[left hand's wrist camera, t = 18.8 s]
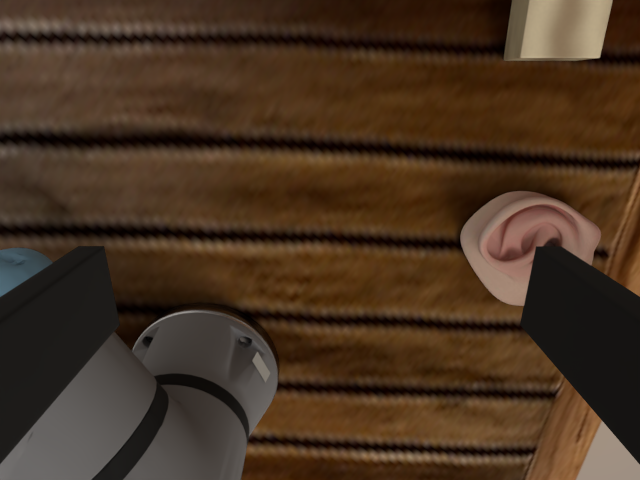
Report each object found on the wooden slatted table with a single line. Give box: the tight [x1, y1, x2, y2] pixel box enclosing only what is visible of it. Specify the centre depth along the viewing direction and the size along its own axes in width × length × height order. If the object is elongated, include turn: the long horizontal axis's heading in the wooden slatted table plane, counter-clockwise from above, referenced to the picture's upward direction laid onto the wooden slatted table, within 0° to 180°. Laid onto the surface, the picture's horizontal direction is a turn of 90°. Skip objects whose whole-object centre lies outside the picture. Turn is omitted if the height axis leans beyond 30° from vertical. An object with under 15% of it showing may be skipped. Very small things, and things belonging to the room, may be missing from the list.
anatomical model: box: [460, 191, 601, 306], centre depth 37 cm, size 13×4×12 cm
